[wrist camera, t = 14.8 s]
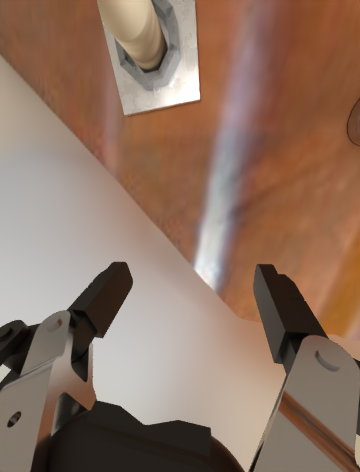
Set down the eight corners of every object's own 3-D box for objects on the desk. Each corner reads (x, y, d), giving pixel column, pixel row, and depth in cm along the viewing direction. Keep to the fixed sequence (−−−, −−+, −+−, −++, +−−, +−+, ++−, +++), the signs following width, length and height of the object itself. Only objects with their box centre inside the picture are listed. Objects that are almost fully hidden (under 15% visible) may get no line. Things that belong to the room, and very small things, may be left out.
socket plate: (193, -36, 20) (189, -79, 16) (200, 101, 27) (198, 93, 23) (101, 2, 23) (80, -27, 19) (128, 116, 30) (116, 111, 26)
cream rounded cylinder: (154, 16, 22) (120, -69, 13) (175, 58, 24) (156, 6, 15) (129, 49, 24) (86, -7, 15) (150, 85, 26) (121, 53, 17)
